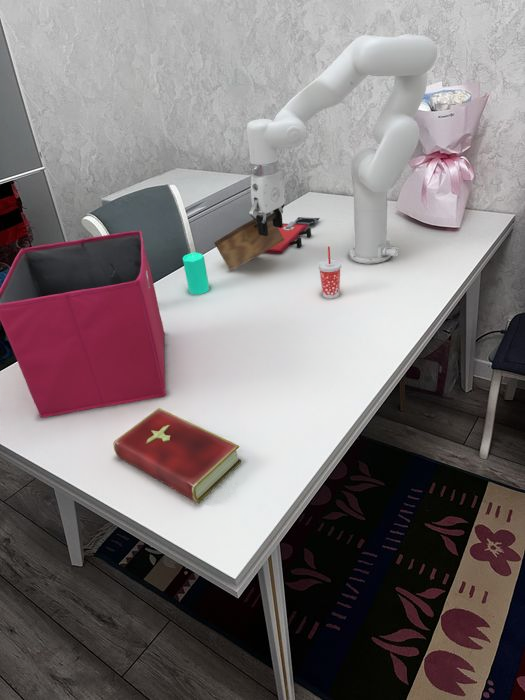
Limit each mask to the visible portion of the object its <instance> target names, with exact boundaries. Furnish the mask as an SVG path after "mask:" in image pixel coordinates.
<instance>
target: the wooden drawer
mask: <svg viewBox="0 0 525 700" xmlns="http://www.w3.org/2000/svg"><path fill="white" fill-rule="evenodd" d="M260 216H261V217H262V214H260ZM276 218H277V214H276V213H274V212H269V213H267V214H266V221H265V222H267V226H268V236H263V235H259V233H258V224H257V222H256V221H255V220H254V219H253V218H252V219H251V220H249V221H247V222H245V223H243V224H242V225H240V226H238V227H237V228H235V229H233V230H232V231H230V232H229V233H227V234H225V235H224V236H222V237H220V238H219V239H217V240H216V241H214V242H213V244H214V246H215V247H216V248H217V250H218V252H219V254H220V256H221V258H222V259H223V261H224V264H225V265H226V267H227V268H228V270H229V271H232V270H233V269H236V268H238V267H239V266H242V265H244V264H246V263H248V262H249V261H251V260H254V259H255V258H257V257H259V256H261V255H263V254H264V252H265V251H267V250H269V249H270V248H272V247H274V246H275V245H277V244H279V243H280V242H282V241H284V238H283V236H282V234H281V232H280V230H279V229H278V227H274V226H273V220H274V219H276Z"/></svg>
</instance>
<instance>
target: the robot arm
mask: <svg viewBox="0 0 525 700" xmlns="http://www.w3.org/2000/svg"><path fill="white" fill-rule="evenodd" d="M436 45H437V44H436V43H435V42H434V41H433V40H432V39H431V38H430V37H428V36H425V35H420V34H414V33H405V34H401V35H399V36H379V35H370V34H362V35H359V36H358V37H356V38H355V39H354V40H353V41H352V42H351V43H350V44H349V45H348V46H347V47H346V48H345V49H344V50H343V51H342V52H341V53H340V54H339V55H338V56H337V57H336V58H335V59H334V60H333V61H332V63H330V64H329V66H328V67H326V69H325V70H324V71H322V72H321V73H320V75H318V76H317V77H316V78H315V79H314V80H313V81H311V82H310V83H309V84H308V85H306V86H305V87H304V88H302V89H301V90H300V91H298V93H296V94H295V95H294V96H293V97H292V98H291V99H290V100H289V101H288V102H287V103H286V104H285V105H284V106H283V107H281V109H280V110H279V111H278V113H277V114H276V115H275V117H274V119H273V120H272V119H270V118H258V119H254V120H251V121H249V122H248V123H247V125H246V136H247V144H248V146H247V147H248V153H249V162H250V173H251V176H250V200H251V208H250V211H249V212H248V213H249V216H250V217H251V218H252V220H253V219H254V220H255V221H256V222H257V224H258V233H259V235H263V236H268V226H267V222H265V221H266V214H267V213H269V212H270V213H276V214H277V218H276V219H274V220H273V226H274V227H278V228H282V227H283V223H284V222H283V214H284V207H285V204H286V202H287V201H286V200H287V196H286V190H285V183H284V179H283V175H282V172H281V170H280V169H279V156H278V148H279V149H292V148H293V149H294V148H297V147H300V146H301V145H303V143H304V142H305V140H306V138H307V128H306V124H307V123H308V122H309V121H310V120H311V119H312V118H313V117H315V116H316V115H317V114H319V113H320V112H322V111H324V110H327V109H329V108H332V107H335V106H337V105H339V104H340V103H342V102H343V101H344V100H345V99H346V98H347V97H348V96H349V95H350V94H351V93H352V92H353V91H354V90H355V89H356V88H357V87H358V86H359V85H360V84H361V83H362V82H363V81H364V80H365V79H366V78H367V77H368V76H371V77H394V82H393V86H392V89H391V91H390V94H389V96H388V98H387V100H386V102H385V103H384V106H383V108H382V110H381V112H380V114H379V115H378V117H377V119H376V121H375V123H374V126H373V129H372V136H373V139H374V140H375V142H376V143H377V144H378V147H377V148H374V147H367V148H366V147H365V148H363V149H360V150H359V151H358V152H357V153H356V154H355V155H354V157H353V159H352V163H351V166H350V168H351V169H350V172H351V181H352V188H353V189H352V190H353V220H354V221H353V226H354V227H353V229H354V247H353V248H352V249H351V250H350V251H349V258H350V260H352V261H353V262H356V263H359V264H365V265H366V264H367V265H369V264H370V265H372V264H379V263H384V262H385V261H388V260H389V259H391V258H392V257H395V258H396V257H398V254H399V251H398V250H399V249H398V247H397V246H391V241H390V240H387V239H388V238H387V236H388V233H387V232H388V228H387V227H388V191H390V190H391V189H393V188H394V187H395V185H396V184H397V183H398V181H399V180H400V178H401V177H402V175H403V173H404V171H405V169H406V167H407V166H408V164H409V162H410V160H411V158H412V156H413V155H414V153H415V150H416V149H417V146H418V144H419V141H420V136H421V133H420V127H419V124H418V123H417V121H416V120H415V117H416V115H417V112H418V111H419V109H420V106H421V104H422V102H423V100H424V97H425V94H426V90H427V87H428V86H427V85H428V77H427V76H428V74H427V73H428V72H429V71H430V70H431V69H432V68H433V67H434V65H435V63H436V61H437V58H438V49H437V46H436ZM260 215H262V217H261V216H260Z"/></svg>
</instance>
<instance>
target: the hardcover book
mask: <svg viewBox="0 0 525 700" xmlns="http://www.w3.org/2000/svg"><path fill="white" fill-rule="evenodd" d="M239 448H240V445H239V444H236V443H234V442H232V441H231V440H228V439H226V438H223V436H220V435H218V434H215V433H213V432H211V431H209V430H207V429H205V428H203V427H200V426H198V425H196V424H194V423H192V422H190V421H188V420H186V419H184V418H181V417H180V416H177V415H175V414H173V413H171V412H169V411H166V410H164V409H162V408H160V407H158V408H157V409H155V410H154V411H152V412H151V413H150V414H149V415H147V416H146V417H144V418H143V419H142V420H140V421H139V422H138V423H137V424H135V425H133V427H131V428H130V429H129V430H127V431H126V432H125V433H123V434H122V435H121V436H119V437H118V438H116V439H115V440H114V441H113V450H114V452H115V455H116V456H117V458H120V459H121V460H123V461H125V462H126V463H128V464H130V465H131V466H132V467H133V466H134V467H135V468H137V469H138V470H140V471H142V472H144V473H145V474H147V475H149V476H151V477H152V478H153V479H155V480H157V481H159V482H161V483H162V484H164V485H166V486H168V487H170V488H171V489H173V490H174V491H177V492H178V493H180V494H181V495H183V496H185V497H187V498H189V499H190V500H192V501H194V502H195V503H196V504H199V503H200V502H201V501H202V500H204V498H205V497H206V496H208V495H209V494H210V493H211V492H212V491H213V490H214V489H215V488H216V487H217V486H218V485H220V483H221V482H223V480H224V479H225V478H227V476H228V475H229V474H230V473H232V472H233V470H235V469H236V468H237V467H238V466H239V465H240V464H241V463H242V462H243V461H242V459H240V458H239V457H238V449H239Z"/></svg>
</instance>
